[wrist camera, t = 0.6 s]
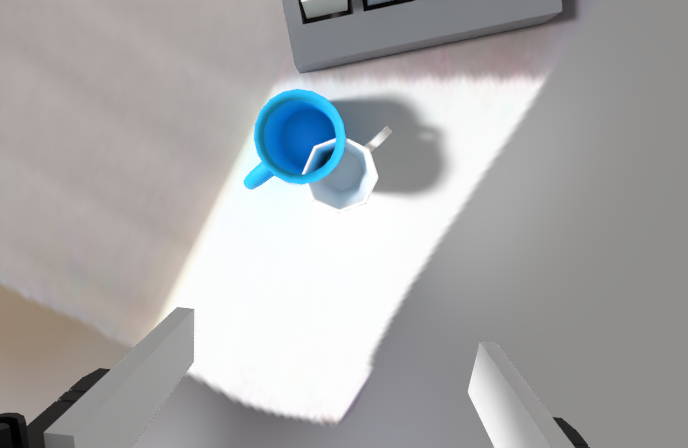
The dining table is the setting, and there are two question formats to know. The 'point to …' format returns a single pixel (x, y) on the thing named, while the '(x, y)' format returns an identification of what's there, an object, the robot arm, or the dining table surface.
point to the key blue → (376, 1)
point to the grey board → (404, 27)
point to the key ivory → (323, 7)
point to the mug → (295, 137)
